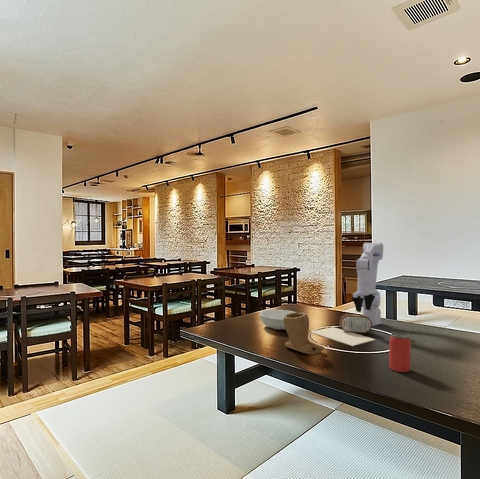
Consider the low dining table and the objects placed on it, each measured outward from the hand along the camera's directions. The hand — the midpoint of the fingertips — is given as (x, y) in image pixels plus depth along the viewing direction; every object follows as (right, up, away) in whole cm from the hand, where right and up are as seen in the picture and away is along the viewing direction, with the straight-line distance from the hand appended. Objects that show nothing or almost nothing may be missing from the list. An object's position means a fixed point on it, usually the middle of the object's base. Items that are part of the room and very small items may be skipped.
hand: (363, 310), depth 166 cm
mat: (-13, -10, -9) cm, 19 cm away
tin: (-5, -10, -4) cm, 12 cm away
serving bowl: (-40, -10, +5) cm, 42 cm away
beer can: (-5, -10, -49) cm, 50 cm away
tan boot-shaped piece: (-36, -10, -30) cm, 48 cm away
